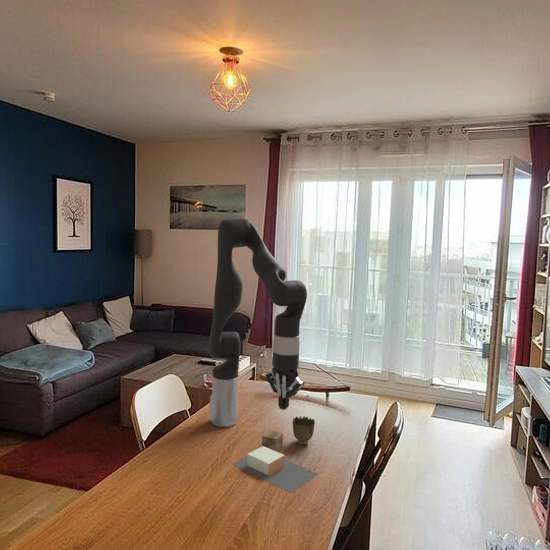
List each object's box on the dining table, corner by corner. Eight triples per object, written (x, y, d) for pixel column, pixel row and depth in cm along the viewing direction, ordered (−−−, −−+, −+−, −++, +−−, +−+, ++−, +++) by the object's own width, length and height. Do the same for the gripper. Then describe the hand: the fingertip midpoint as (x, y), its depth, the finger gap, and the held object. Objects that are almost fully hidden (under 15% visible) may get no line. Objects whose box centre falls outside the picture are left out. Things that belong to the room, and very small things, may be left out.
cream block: (269, 475, 129) (247, 465, 135) (284, 466, 135) (262, 456, 140) (269, 463, 129) (247, 454, 134) (284, 455, 134) (263, 445, 140)
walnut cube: (261, 450, 145) (262, 435, 145) (268, 444, 150) (268, 429, 149) (275, 454, 143) (276, 439, 143) (282, 447, 148) (282, 433, 147)
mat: (232, 465, 135) (232, 464, 135) (261, 450, 145) (261, 449, 145) (290, 494, 121) (290, 492, 121) (318, 475, 131) (318, 473, 131)
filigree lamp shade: (312, 450, 146) (313, 426, 146) (289, 447, 148) (290, 423, 147) (315, 440, 154) (316, 417, 153) (293, 437, 155) (294, 414, 154)
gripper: (259, 347, 131) (257, 405, 133) (296, 358, 122) (293, 419, 124) (276, 343, 136) (274, 398, 138) (312, 352, 128) (309, 411, 130)
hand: (283, 408), depth 131 cm, fingers closed
